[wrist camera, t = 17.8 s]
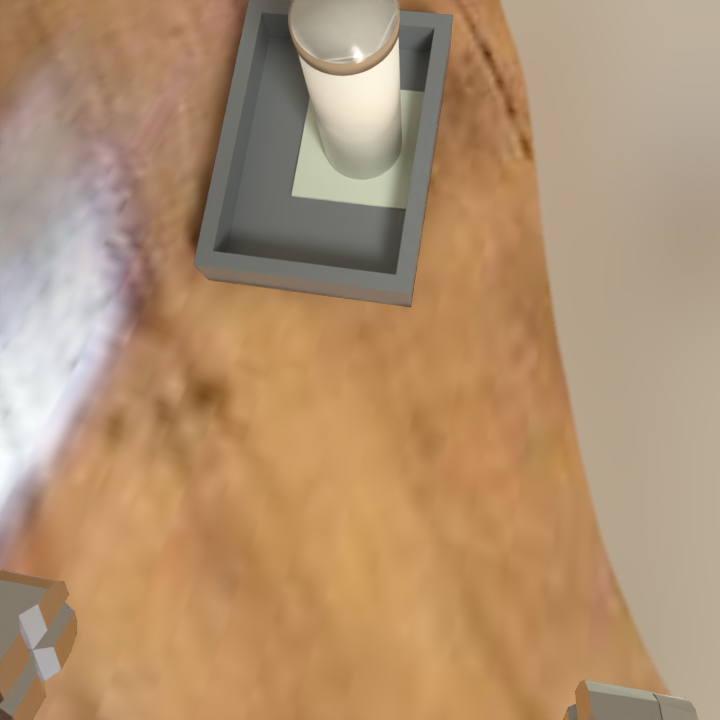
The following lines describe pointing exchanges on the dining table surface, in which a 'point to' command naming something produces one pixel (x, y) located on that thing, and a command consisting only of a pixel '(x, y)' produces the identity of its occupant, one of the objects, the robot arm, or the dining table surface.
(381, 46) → the tube
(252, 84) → the tray
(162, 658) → the dining table surface
